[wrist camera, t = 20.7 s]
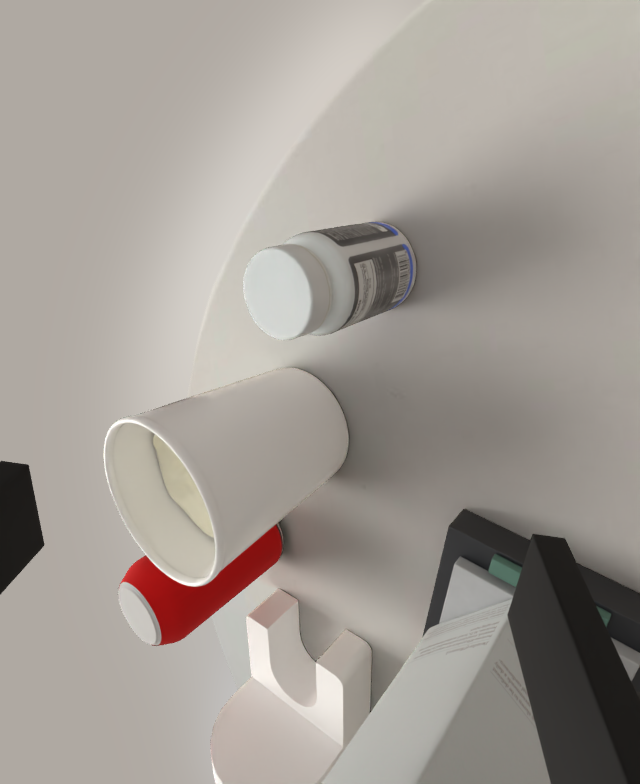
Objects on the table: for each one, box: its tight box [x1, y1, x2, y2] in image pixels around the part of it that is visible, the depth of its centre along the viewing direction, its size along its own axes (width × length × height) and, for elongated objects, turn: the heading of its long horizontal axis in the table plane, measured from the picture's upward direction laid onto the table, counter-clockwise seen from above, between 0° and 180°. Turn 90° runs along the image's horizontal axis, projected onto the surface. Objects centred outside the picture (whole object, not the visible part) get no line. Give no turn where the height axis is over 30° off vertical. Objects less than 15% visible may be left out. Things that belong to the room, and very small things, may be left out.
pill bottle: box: [243, 222, 416, 340], centre depth 25 cm, size 5×5×8 cm
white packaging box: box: [321, 598, 551, 784], centre depth 23 cm, size 7×7×13 cm
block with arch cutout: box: [210, 589, 372, 784], centre depth 41 cm, size 18×10×11 cm, turn 1°
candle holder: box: [104, 368, 349, 587], centre depth 31 cm, size 10×10×12 cm
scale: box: [422, 509, 640, 692], centre depth 28 cm, size 11×11×3 cm
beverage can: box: [118, 523, 284, 646], centre depth 38 cm, size 6×6×12 cm
